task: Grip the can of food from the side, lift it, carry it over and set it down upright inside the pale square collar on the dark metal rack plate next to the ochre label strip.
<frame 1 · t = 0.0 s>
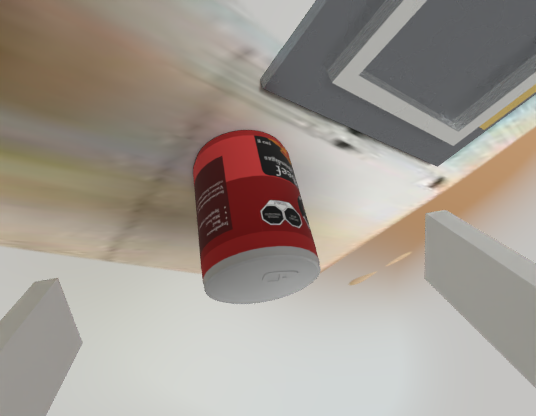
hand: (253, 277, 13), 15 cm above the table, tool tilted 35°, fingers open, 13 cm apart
rack plate: (473, 19, 24), on the table
canned food: (240, 159, 31), on the table
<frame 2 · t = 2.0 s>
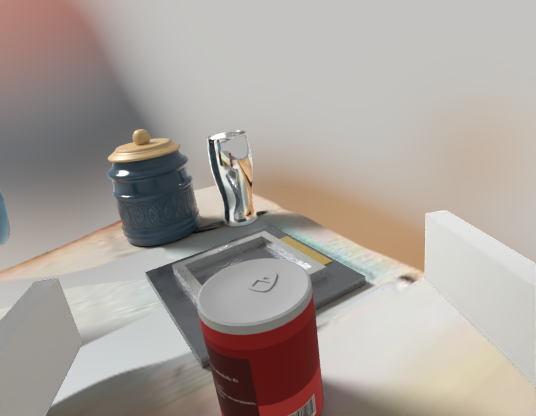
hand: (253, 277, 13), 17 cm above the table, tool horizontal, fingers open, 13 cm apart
rack plate: (247, 281, 46), on the table
canister: (164, 231, 65), on the table
canned food: (274, 410, 29), on the table
beer glass: (240, 220, 66), on the table
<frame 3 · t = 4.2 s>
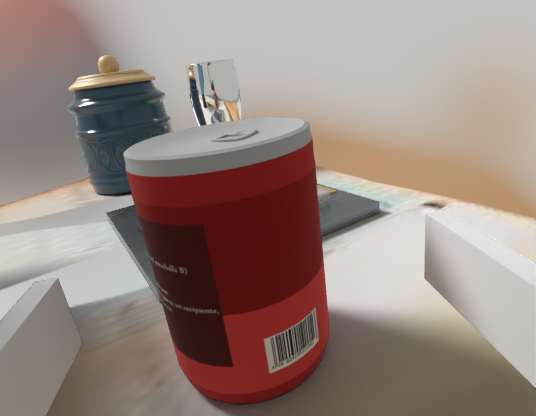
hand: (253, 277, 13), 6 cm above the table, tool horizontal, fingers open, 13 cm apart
rack plate: (230, 217, 37), on the table
canister: (139, 182, 56), on the table
canned food: (256, 347, 19), on the table
beer glass: (228, 169, 56), on the table
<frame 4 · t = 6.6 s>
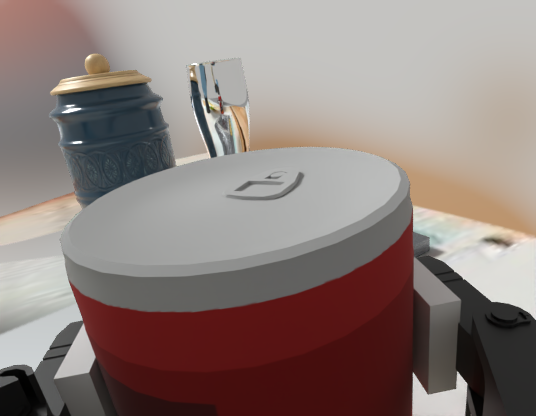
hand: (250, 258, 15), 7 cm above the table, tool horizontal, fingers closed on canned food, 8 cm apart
rack plate: (240, 251, 30), on the table
canister: (133, 198, 49), on the table
beer glass: (234, 183, 50), on the table
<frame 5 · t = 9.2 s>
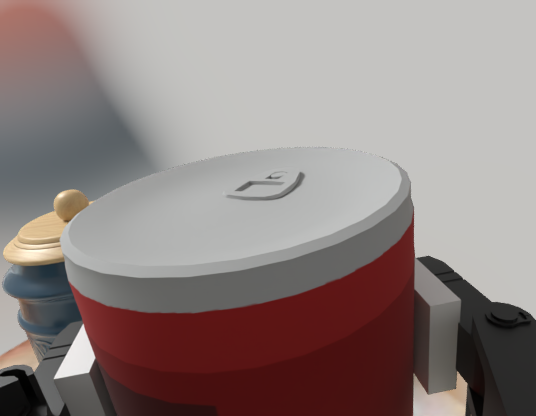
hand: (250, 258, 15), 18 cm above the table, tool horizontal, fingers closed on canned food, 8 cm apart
canister: (124, 361, 37), on the table
when the fingers open (10 cm above the table, at t = 11.7 s): canned food drops 2 cm, resting on rack plate.
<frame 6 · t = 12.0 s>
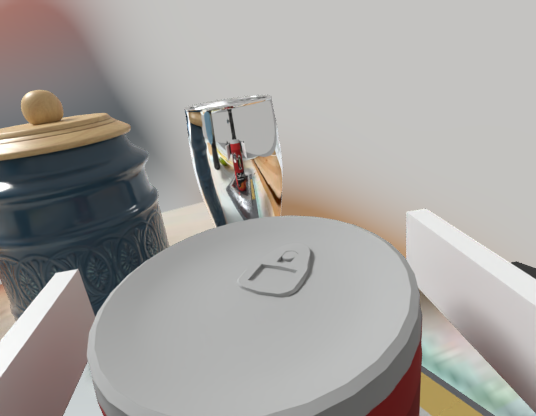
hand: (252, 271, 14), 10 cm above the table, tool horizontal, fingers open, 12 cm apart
canister: (106, 300, 33), on the table
beer glass: (256, 277, 33), on the table
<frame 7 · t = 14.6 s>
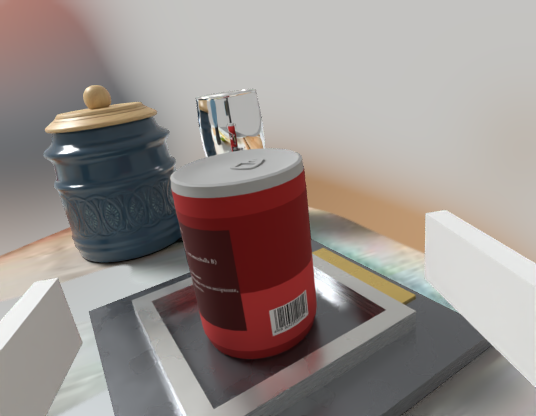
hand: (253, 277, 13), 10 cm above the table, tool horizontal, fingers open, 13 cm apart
rack plate: (263, 331, 26), on the table
canister: (137, 239, 45), on the table
canned food: (261, 322, 26), point 1 cm above the table, touching rack plate
beer glass: (247, 223, 45), on the table
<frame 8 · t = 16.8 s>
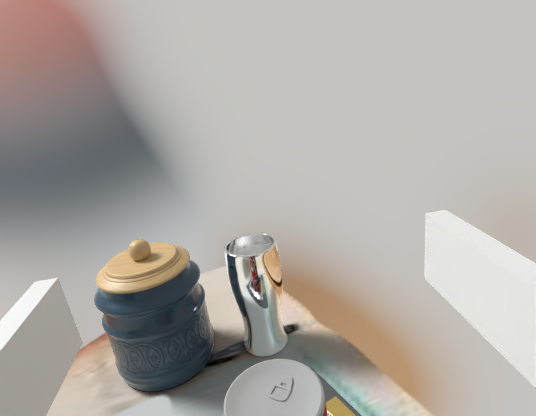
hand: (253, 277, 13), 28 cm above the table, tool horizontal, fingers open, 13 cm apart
canister: (169, 357, 51), on the table
beer glass: (266, 342, 52), on the table
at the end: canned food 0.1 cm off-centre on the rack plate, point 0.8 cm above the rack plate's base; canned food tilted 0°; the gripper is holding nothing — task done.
